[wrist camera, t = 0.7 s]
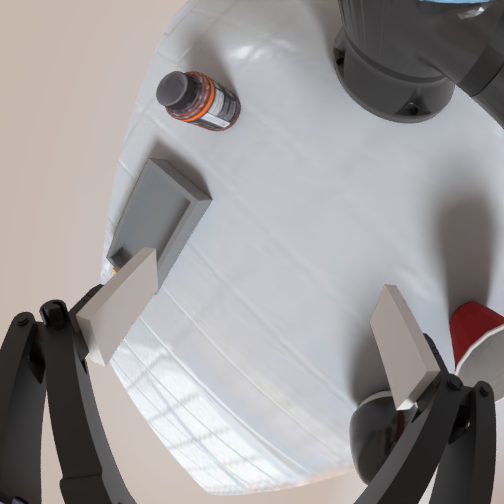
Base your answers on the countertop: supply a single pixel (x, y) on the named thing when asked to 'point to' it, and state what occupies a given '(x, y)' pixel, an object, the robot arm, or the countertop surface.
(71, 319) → the robot arm
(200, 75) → the supplement bottle
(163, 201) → the trough
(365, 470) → the pump dispenser
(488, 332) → the plastic cup
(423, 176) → the countertop surface
